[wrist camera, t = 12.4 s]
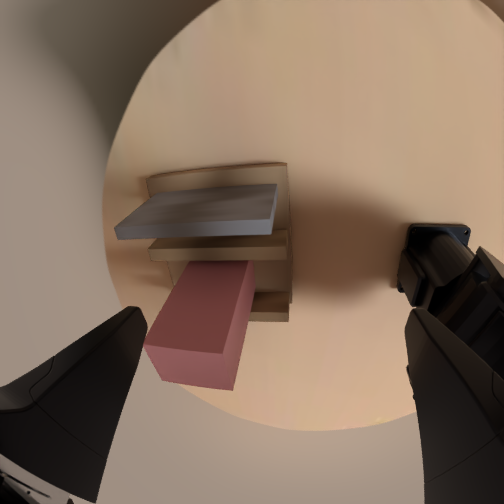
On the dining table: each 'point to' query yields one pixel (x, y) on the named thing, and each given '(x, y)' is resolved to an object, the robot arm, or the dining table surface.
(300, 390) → the dining table surface
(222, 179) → the rack
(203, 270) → the red rectangular block
